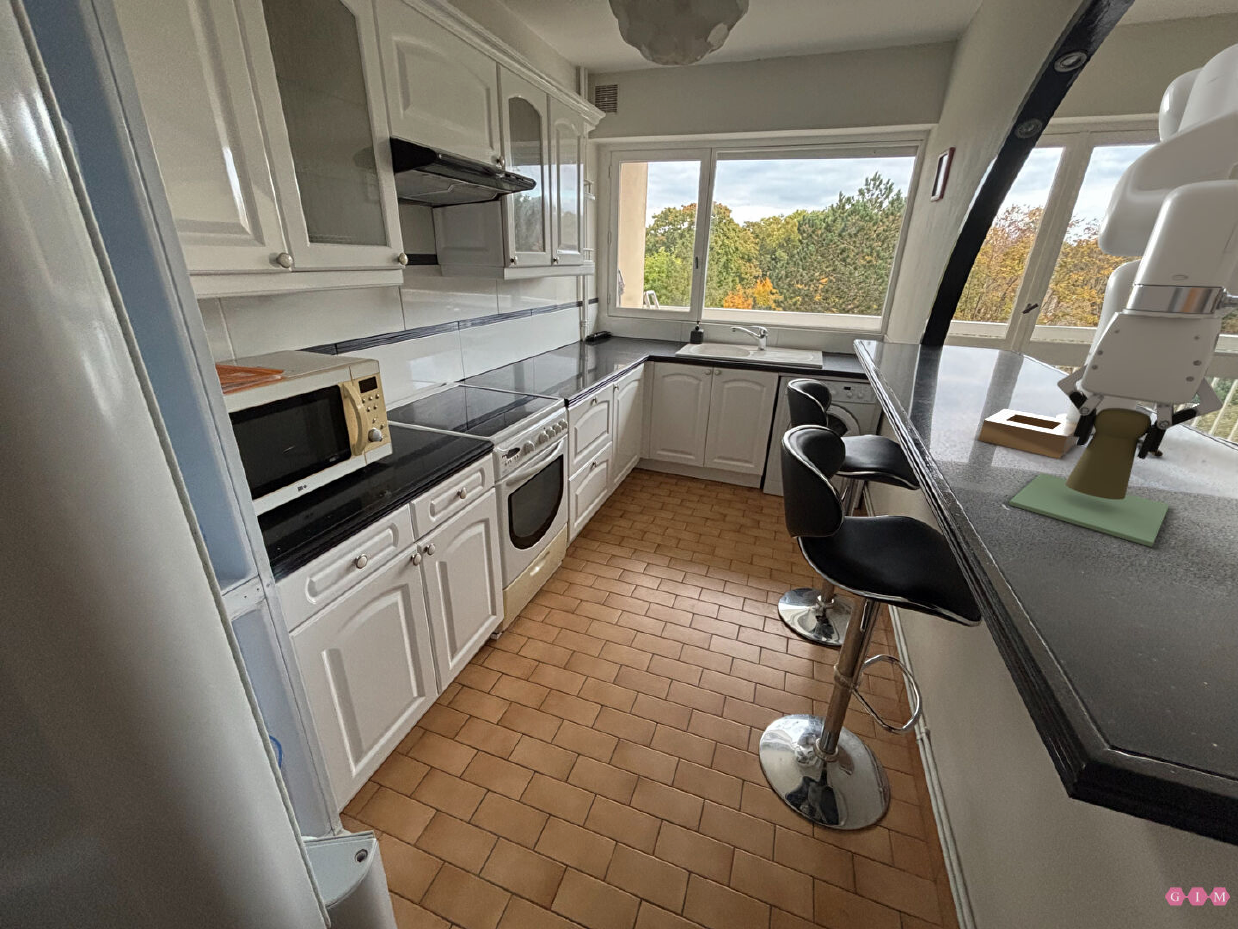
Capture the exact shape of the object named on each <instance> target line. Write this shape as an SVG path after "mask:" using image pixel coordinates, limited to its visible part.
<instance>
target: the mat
mask: <svg viewBox="0 0 1238 929" xmlns="http://www.w3.org/2000/svg"><path fill="white" fill-rule="evenodd" d="M1067 479H1068V478H1064V477H1060V476H1058V475H1057V476H1056V475H1052V474H1049V473H1044V472H1041V473H1039V474H1038V475H1037V476H1036V477H1035V478H1034V479H1032V480H1031V482H1030V483H1028V484H1027V485H1026V486H1024V488H1022V489H1021V490H1020V491H1019V492H1018V493H1017V494H1016V495H1015V496H1014V497H1012V499H1010V500H1009V502H1008V505H1009V506H1013V507H1015V508H1019V509H1023V510H1026V511H1028V512H1032V513H1036V514H1039V515H1041V516H1046V517H1049V518H1053V519H1056V520H1059V521H1062V522H1065V523H1070V524H1073V525H1077V526H1079V527H1083V528H1085V529H1086V528H1087V529H1090V530H1092V531H1097V532H1099V533H1103V534H1106V535H1110V536H1113V537H1116V538H1120V539H1123V540H1127V541H1129V542H1133V543H1137V544H1140V545H1143V546H1147V547H1150V548H1151V547H1153V545H1154V543H1155V541H1156V538H1157V536H1158V533H1159V531H1160V528H1161V527H1162V524H1163V521H1164V519H1165V517H1166V515H1167V512H1168V511H1169V508H1170V504H1168V503H1164V502H1160V501H1156V500H1152V499H1149V498H1144V497H1140V496H1136V495H1132V494H1128V493H1126V496H1125V498H1124V499H1120V500H1115V499H1106V498H1100V497H1095V496H1091V495H1087V494H1084V493H1081V492H1078V491H1075V490H1073V489H1071V488H1069V487H1067V486H1066V485H1065V483H1066V481H1067Z"/></svg>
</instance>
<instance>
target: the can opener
mask: <svg viewBox="0 0 1238 929" xmlns="http://www.w3.org/2000/svg"><path fill="white" fill-rule="evenodd" d="M1143 441H1144V439H1141V438H1139V440H1138V445H1141V446H1142V444H1143ZM1148 454H1150V455H1152V456H1153V457H1156V458H1161V457H1163V455H1164V454H1163V452H1162V451H1161V450H1160V449H1158V450H1157V452H1156V453H1153V452H1148Z"/></svg>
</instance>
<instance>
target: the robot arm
mask: <svg viewBox="0 0 1238 929" xmlns="http://www.w3.org/2000/svg"><path fill="white" fill-rule="evenodd" d="M1158 132H1159V140H1160V142H1159V143H1157V144H1155V145H1154V146H1152V147H1151V148H1149V149H1148V150H1147V151H1145V152H1144V153H1143V154H1142V155H1141V156H1139V157H1138V158H1137V159H1135V160H1134V161H1133V162H1132V163H1131V164H1130V165H1129V166H1128V167H1127V169H1125V171H1124V172H1123V173H1122V174H1121V176H1120V177H1119V179H1118V180H1117V182H1116V184H1115V186H1114V187H1113V190H1112V192H1111V195H1110V197H1109V200H1108V202H1107V205H1106V208H1105V211H1104V214H1103V215H1102V219H1101V222H1100V225H1099V229H1098V232H1097V245H1098V247H1099V249H1100V251H1102V252H1103V253H1104V254H1107V255H1109V256H1111V257H1141V259H1135V260H1132V261H1128V262H1125V263H1123V264H1121V265H1119V266H1118V267H1117V268H1115V269H1114V270H1113V271H1112V273H1110V276H1109V278H1108V280H1107V283H1106V286H1105V290H1104V295H1103V296H1104V297H1103V302H1102V308H1101V312H1100V317H1099V321H1098V324H1097V327H1096V331H1095V333H1094V336H1093V339H1092V342H1091V345H1090V348H1089V351H1088V354H1087V356H1086V359H1085V362H1084V365H1083V366H1082V367H1080V368H1078V369H1077V370H1075V371H1073V372H1072V373H1070V374H1068V375H1066V376H1065V377H1063V378H1062V379H1060V380H1058V381H1057V383H1056V385H1057V387H1058V388H1059V389H1060V390H1061V392H1063V393H1064V394H1065V395H1066V396H1067V397H1068V399H1069V401H1070V404H1069V407H1068V409H1067V412H1066V413H1061V414H1057V415H1056V416H1055V417H1054V418H1056V419H1061V420H1067V421H1072V422H1078V424H1077V426H1076V429H1075V432H1074V435H1073V437H1078V439H1077V442H1076V444H1075V446H1079V447H1083V446H1085V445H1086V444H1088V443H1089V441H1090V440H1089V439H1090V437H1091V435H1094V434H1095V432H1096V430H1095V427H1094V419H1095V417H1096V415H1097V414H1098V413H1099V412H1100V411H1101V410H1103V409H1106V408H1126V409H1132V410H1136V409H1137V407H1138V405H1139V402H1146V403H1153V404H1156V419H1155V421H1154V422H1153V423H1151V426H1150V428H1149V430H1148V432H1147V434H1146V435H1145V436H1144V439H1143V444H1142V445H1141V446H1140V448H1139V450H1138V453H1137V455H1136V457H1137V458H1138V459H1140V460H1145V459H1146V458H1147V456H1148V454H1149V452H1153V453H1156V452H1157V450H1159V448H1160V446H1161V443H1162V441H1163V439H1164V437H1165V434H1166V432H1167V431H1168V430H1169V429H1170V428H1172V427H1174V426H1177V425H1179V424H1182V423H1185V422H1188V421H1190V420H1192V419H1195V418H1197V417H1201V416H1204V415H1208V414H1210V413H1211V414H1212V413H1213V412H1217V411H1220V410H1222V409H1223V407H1224V402H1223V400H1222V399H1221V397H1220V396H1219V395H1218V393H1217V392H1216V390H1215V389H1214V387H1213V385H1212V384H1211V383H1210V381H1209V380H1208V378H1207V377H1206V374H1207V372H1208V369H1209V367H1210V365H1211V363H1212V359H1213V356H1214V354H1215V352H1216V348H1217V345H1218V342H1219V338H1220V335H1221V330H1222V324H1223V318H1222V317H1225V316H1227V315H1229V314H1231V313H1232V312H1234V310H1235V309H1237V308H1238V179H1229V178H1230V176H1231V173H1232V171H1233V169H1234V166H1236V165H1238V42H1237V43H1235V44H1233V45H1231V46H1229V47H1227V48H1224V49H1223V50H1222V51H1220V52H1218V53H1217V54H1216V55H1215V56H1213V57H1211V59H1210V60H1209V61H1208V62H1206V64H1204V66H1202V67H1198V68H1195V69H1193V70H1190V71H1187V72H1185V73H1183V74H1181V75H1179V76H1178V77H1176V78H1175V79H1174V80H1173V81H1172V82H1170V83H1169V85H1168V86H1167V87H1166V90H1165V91H1164V94H1163V96H1162V99H1161V102H1160V107H1159V112H1158ZM1196 395H1197V396H1198V397H1199V399H1200V400H1201V402H1199V403H1196V404H1194V405H1192V406H1188V407H1185V408H1182V409H1180V410H1178V411H1175V406H1179V405H1185V404H1188V403H1190V402H1191V401H1192V400H1193V398H1194V397H1195V396H1196Z"/></svg>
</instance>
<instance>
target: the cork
mask: <svg viewBox="0 0 1238 929" xmlns="http://www.w3.org/2000/svg"><path fill="white" fill-rule="evenodd" d="M1152 424H1153V421H1152V418H1151V416H1150V415H1148V414H1147V413H1145V412H1141V411H1139V410H1136V409H1135V410H1132V409H1126V408H1106V409H1103V410H1101V411H1100V412H1099V413H1098V414H1097V415H1096V417H1095V419H1094V427H1095V430H1096V432H1095V434H1092V435H1093V436H1092V437H1091V438H1090V440H1089V441H1088V443H1087V445H1086V446H1085V448H1084V450H1083V452H1082V454H1081V456H1080V457H1079V458H1078V460H1077V462H1076V464H1075V465H1074V467H1073V469H1072V471H1071V472H1070V474H1069V476H1068V477H1067V478H1066V479H1067V481H1066V483H1065V485H1066V486H1067V487H1069V488H1071V489H1073V490H1075V491H1078V492H1081V493H1084V494H1087V495H1091V496H1095V497H1100V498H1106V499H1115V500H1120V499H1124V498H1125V496H1126V494H1127V491H1128V487H1129V483H1130V478H1131V475H1132V470H1133V465H1134V462H1135V457H1136V452H1137V448H1138V445H1139V444H1138V440H1139V439H1141V438H1143V437H1145V436H1146V434H1147V432H1148V430H1149V428H1150V426H1151V425H1152Z"/></svg>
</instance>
